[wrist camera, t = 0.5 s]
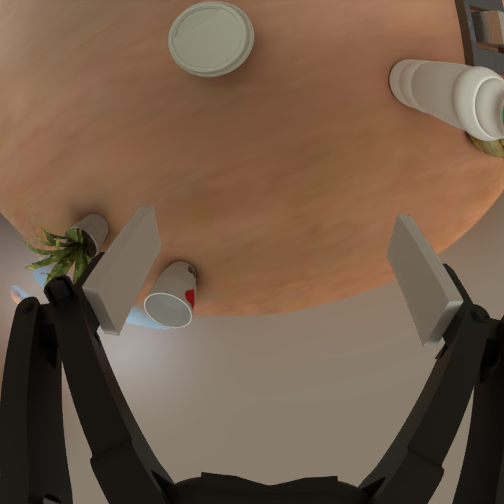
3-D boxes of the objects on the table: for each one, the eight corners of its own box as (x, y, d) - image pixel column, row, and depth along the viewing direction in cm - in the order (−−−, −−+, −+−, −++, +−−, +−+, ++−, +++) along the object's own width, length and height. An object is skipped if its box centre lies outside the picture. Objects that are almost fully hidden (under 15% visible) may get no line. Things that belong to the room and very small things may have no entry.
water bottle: (438, 77, 30) (569, 121, 10) (418, 115, 34) (538, 187, 14) (400, 49, 29) (529, 58, 9) (379, 89, 33) (495, 135, 13)
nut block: (466, 12, 22) (498, 10, 16) (489, 18, 22) (521, 19, 15) (471, 42, 25) (505, 44, 19) (494, 47, 24) (527, 51, 18)
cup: (201, 292, 57) (190, 332, 48) (161, 282, 56) (144, 321, 48) (206, 259, 52) (194, 300, 44) (162, 249, 51) (142, 287, 43)
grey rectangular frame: (450, -15, 20) (458, -18, 18) (492, -3, 19) (501, -4, 17) (465, 67, 28) (474, 69, 26) (504, 74, 26) (513, 76, 25)
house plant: (67, 173, 43) (8, 221, 30) (134, 198, 46) (85, 258, 32) (64, 236, 51) (20, 290, 38) (122, 261, 54) (85, 324, 40)
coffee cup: (260, 16, 29) (254, -5, 19) (258, 74, 34) (251, 77, 24) (194, 17, 29) (163, 2, 19) (193, 75, 34) (162, 80, 24)
